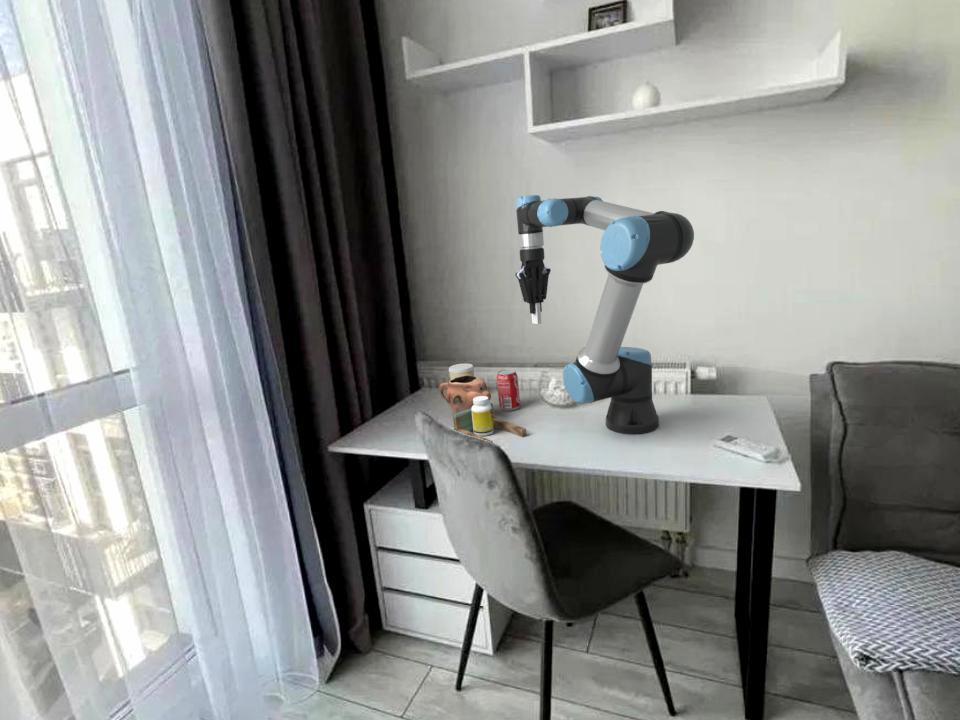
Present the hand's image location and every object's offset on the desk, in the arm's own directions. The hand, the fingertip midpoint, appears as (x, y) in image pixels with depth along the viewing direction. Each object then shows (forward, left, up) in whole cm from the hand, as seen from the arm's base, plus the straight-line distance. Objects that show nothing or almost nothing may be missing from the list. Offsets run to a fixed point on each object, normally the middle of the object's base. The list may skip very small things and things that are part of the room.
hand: (536, 323), depth 176 cm
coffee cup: (+34, +8, -30) cm, 46 cm away
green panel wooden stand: (-4, +25, -29) cm, 39 cm away
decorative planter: (+14, +21, -30) cm, 39 cm away
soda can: (+11, +5, -30) cm, 32 cm away
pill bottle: (-1, +25, -30) cm, 39 cm away
